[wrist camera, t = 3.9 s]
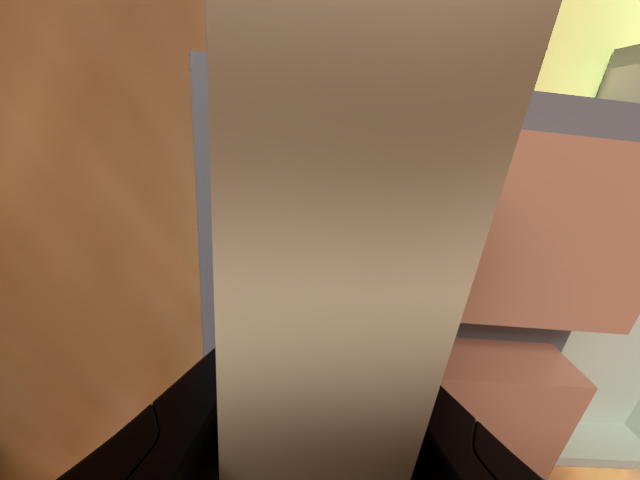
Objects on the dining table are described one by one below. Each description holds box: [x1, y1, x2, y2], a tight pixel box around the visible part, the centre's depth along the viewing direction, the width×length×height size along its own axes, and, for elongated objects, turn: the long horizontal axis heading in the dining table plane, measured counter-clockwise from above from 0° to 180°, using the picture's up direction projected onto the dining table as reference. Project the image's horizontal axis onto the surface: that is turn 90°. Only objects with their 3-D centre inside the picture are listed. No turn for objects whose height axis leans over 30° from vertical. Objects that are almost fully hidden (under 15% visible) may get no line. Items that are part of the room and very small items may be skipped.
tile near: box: [460, 129, 640, 335], centre depth 9 cm, size 5×5×2 cm
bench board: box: [190, 50, 640, 357], centre depth 12 cm, size 14×13×4 cm
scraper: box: [205, 0, 562, 480], centre depth 7 cm, size 14×3×5 cm, turn 174°
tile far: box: [441, 337, 598, 480], centre depth 11 cm, size 5×5×2 cm
